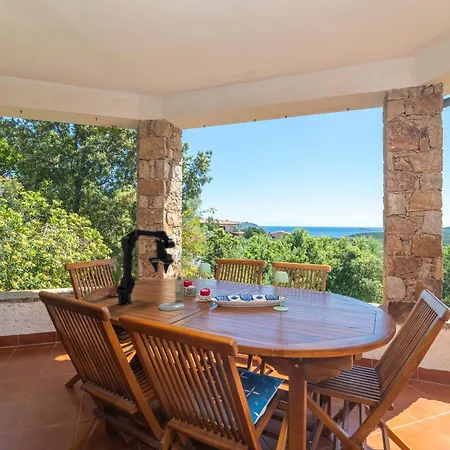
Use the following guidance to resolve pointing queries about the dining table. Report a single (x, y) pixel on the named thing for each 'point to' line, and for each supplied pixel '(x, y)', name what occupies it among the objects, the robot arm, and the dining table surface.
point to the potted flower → (115, 278)
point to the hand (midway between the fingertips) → (161, 273)
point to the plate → (171, 306)
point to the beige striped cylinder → (179, 290)
